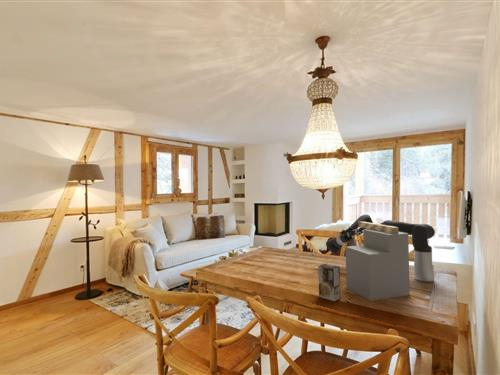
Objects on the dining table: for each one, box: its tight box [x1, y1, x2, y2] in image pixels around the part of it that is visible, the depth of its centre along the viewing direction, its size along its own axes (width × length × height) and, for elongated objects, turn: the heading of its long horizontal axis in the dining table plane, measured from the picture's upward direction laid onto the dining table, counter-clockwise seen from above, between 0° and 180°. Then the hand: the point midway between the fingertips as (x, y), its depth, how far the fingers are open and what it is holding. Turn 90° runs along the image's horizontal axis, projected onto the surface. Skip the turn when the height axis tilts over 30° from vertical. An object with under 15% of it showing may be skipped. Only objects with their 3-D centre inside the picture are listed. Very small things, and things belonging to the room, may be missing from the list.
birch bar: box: [358, 221, 398, 234], centre depth 158 cm, size 28×3×3 cm, turn 16°
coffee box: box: [317, 263, 341, 302], centre depth 143 cm, size 9×6×16 cm
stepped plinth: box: [345, 229, 411, 302], centre depth 151 cm, size 20×24×32 cm
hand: (357, 228), depth 174 cm, fingers open, 8 cm apart
